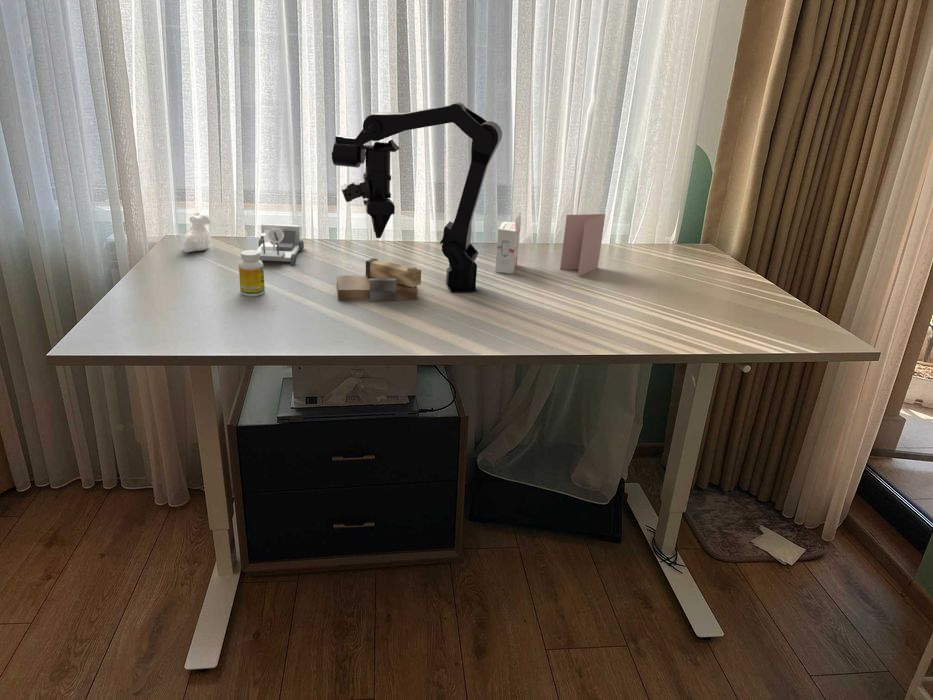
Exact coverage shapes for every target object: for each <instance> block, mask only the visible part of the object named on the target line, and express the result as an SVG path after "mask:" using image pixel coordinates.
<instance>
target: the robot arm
mask: <svg viewBox="0 0 933 700" xmlns="http://www.w3.org/2000/svg"><path fill="white" fill-rule="evenodd" d="M362 122H363V123H362V129H361V131H360V132H359V134H358V135H357V136H356V137H351V136H345V135H336V136H335V137H334V141H335V142H334V144H333V147H332V151H331V161H332V163H333V166H337V167H348V168H349V167H350V168H360V167H361V165H363V164H365V171H364V173H363V177H362V178H360V179H355V180H352V181H351V182H348V183H344V184H342V185H340V189H341V193H342V195H343V197H344V200H345V202H346V203H349V202H352V201H353V200H355V199H358V198H362V199H364V200H363V204H364V205H365V207H366V208H365V212H366V214H368V215H369V217H370V218H371V223H372V228H373V232H374V234H375V238H376V239H382V235H383V234H384V231H385V229H386V227H387V224H388V223H389V220H390V219H391V216H392V215H395V214H396V213H395V212H396V209H395V208H396V206H395V204H394V202H393V201H392V200H391V197H392V193H391V192H390V191H391V181H392V175H391V152H393V153H396V152H397V151H399V150H400V147H399V145H397V143H395V141H394V139H389V140H388V142H383V141H382V140H384V139H387V138H389V137H391V136H395V135H397V134H400V133H402V132H405V131H409V130H410V131H412V130H416V129H423V128H427V127H428V128H429V127H433V126H440V125H444V124H451V123H453V124H454V125H456V127H458V128H459V129H460V130H461V131H462V132H463V133H464V134H465V135H466V136H468V137H469V138H470V139H471V147H470V148H471V151H470V153H471V154H470V166H469V168H468V171H467V176H466V179H465V183H464V187H463V190H462V194H461V196H460V197H461V198H460V201H459V204H458V207H457V209H456V215H455V218H454V220H453V222H452V221H448V223H447V224H446V225H445V226H444V228H443V235H442V238H441V240H440V241H439V244H441V252H442V253H443V255H444V256H445V258H446V259H447V260H448V263H449V264H448V265H449V266H448V267H447V268H446V276H445V278H446V280H445V285H446V286H447V288H448V289H449V291H450V292H452V293H470V292H471V293H472V292H473V293H474V292H475V293H476V292H478V288H477V272H478V271H477V270H478V265H477V263H476V262H475V261H476V259H477V257H478V255H479V251H478V249H476V248H475V246H474V245H473V244H472V243H471V238H472V223H473V218H474V214H475V211H476V207H477V204H478V201H479V197H480V193H481V191H482V187H483V183H484V180H485V177H486V174H487V170H488V167H489V164H490V162H491V160H492V158H493V156H494V155H495V152H496V151H497V149H498V147H499V145H500V143H501V140H502V138H503V131H502V128H501V126H500V125H499V124H498V123H497V122H494V121H491V120H488V121H487V120H486V119H485V118H483V117H482V116H480V114H477V113H476V112H474V111H472V110H470V108H468V107H467V106H466V105H465V104H464V103H461V102H454V103H452V104H449V105H448V104H447V105H441V106H437V107H431V108H425V109H421V110H420V109H419V110H415V111H408V112H396V111H395V112H394V111H390V112H389V111H379V112H378V111H377V112H376V113H373V114H371V115H367V116H366V117H365V118H364V121H362ZM370 142H374V144H373V145H371V144H367V143H370ZM365 199H366V200H365Z"/></svg>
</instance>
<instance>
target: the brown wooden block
mask: <svg viewBox="0 0 933 700" xmlns="http://www.w3.org/2000/svg"><path fill="white" fill-rule="evenodd" d="M336 290H337V298H338V299H337V301H369V302H396V301H401V300H403V301H404V300H405V301H406V300H407V301H408V300H411V301H412V300H413V301H414V300H415V301H416V300H418V290H419V289H418V286H416V287H410V286H406V285H402V284H398V283H397V280H396V278H374V277H367V276H366V275H336Z"/></svg>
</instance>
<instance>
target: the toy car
mask: <svg viewBox="0 0 933 700" xmlns="http://www.w3.org/2000/svg"><path fill="white" fill-rule="evenodd" d="M260 225H261V226H260V229H261V233H260V237H259V239H258V247H257V249H256V251H259V253H260V258H259V260H261V261H268V262H269V261H271V262H274V261H275V262H290V265H291V266H296V263H297V257H296V255H297V253H298V252H304V248H305V247H304V246H305V244H304V240H301V231H300V230H301V228H300V225H297V224H296V225H294V224H293V225H292V224H291V225H290V224H271V223H262V224H260Z"/></svg>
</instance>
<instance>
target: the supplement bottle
mask: <svg viewBox="0 0 933 700" xmlns="http://www.w3.org/2000/svg"><path fill="white" fill-rule="evenodd" d="M256 250H257V249H256ZM256 250H255V249H246V250H242V251H241V252H240V258H241V260H240V261H239V262H238V276H239V290H240V291H239V292H240V294H241V295H243V296H244V297H259V296H262V295H263V294H265V272H264V271H265V270H264V269H265V268H264V267H265V266H264V263H263V260H259V258H260V253H259V251H256Z"/></svg>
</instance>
